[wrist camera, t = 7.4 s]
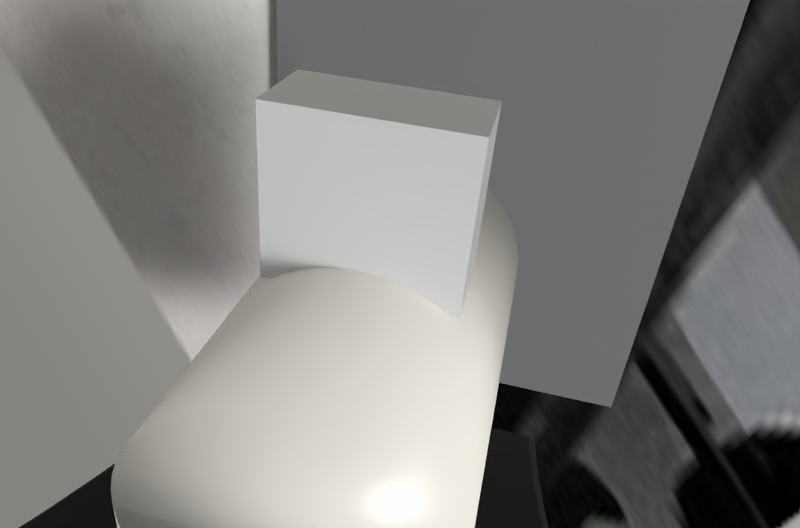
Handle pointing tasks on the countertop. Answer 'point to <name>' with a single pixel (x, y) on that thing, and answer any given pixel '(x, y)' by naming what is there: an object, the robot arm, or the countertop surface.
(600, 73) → the mat
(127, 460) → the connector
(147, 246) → the countertop surface
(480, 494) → the robot arm
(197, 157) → the countertop surface
